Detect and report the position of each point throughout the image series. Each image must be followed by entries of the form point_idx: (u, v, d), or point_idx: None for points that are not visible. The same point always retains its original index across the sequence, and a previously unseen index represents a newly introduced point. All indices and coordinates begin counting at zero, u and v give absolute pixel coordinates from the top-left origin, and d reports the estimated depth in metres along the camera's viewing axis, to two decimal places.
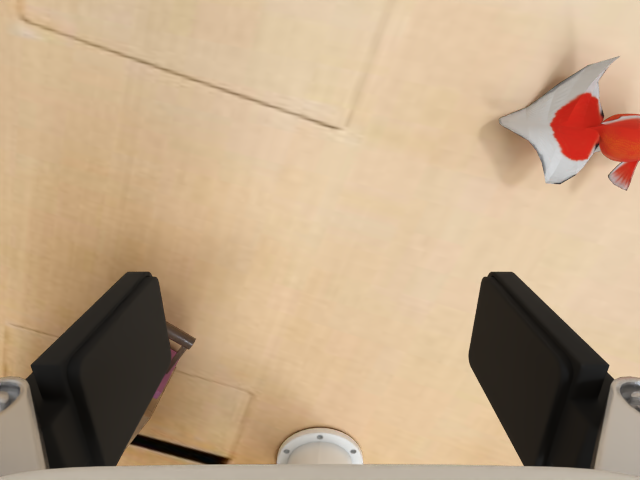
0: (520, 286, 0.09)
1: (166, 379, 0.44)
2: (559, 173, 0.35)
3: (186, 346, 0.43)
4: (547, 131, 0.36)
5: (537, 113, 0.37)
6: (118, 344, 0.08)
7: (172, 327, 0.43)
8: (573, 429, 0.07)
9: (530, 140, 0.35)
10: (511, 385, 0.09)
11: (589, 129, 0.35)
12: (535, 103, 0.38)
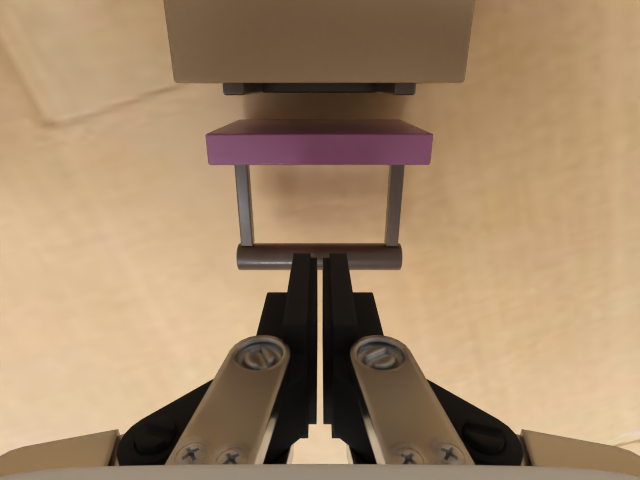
0: (341, 264, 0.11)
1: None
2: None
3: (245, 260, 0.19)
4: None
5: None
6: (316, 313, 0.10)
7: None
8: (333, 381, 0.08)
9: None
10: None
11: None
12: None
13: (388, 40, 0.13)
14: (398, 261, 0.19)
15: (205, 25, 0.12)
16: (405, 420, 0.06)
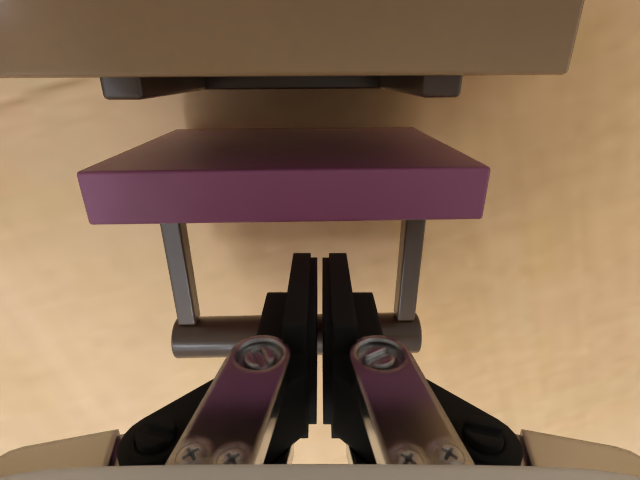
0: (341, 264, 0.11)
1: None
2: None
3: (184, 347, 0.13)
4: None
5: None
6: None
7: None
8: (333, 381, 0.08)
9: None
10: None
11: None
12: None
13: None
14: (416, 343, 0.13)
15: None
16: (405, 420, 0.06)
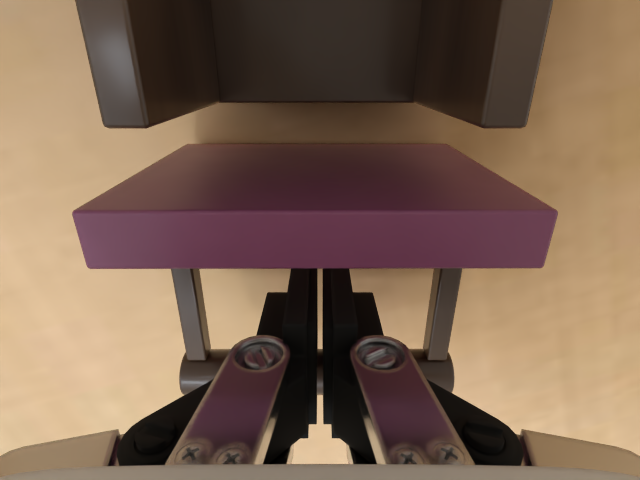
0: None
1: None
2: None
3: (194, 385, 0.12)
4: None
5: None
6: None
7: None
8: (333, 381, 0.08)
9: None
10: None
11: None
12: None
13: None
14: (447, 386, 0.12)
15: None
16: (405, 420, 0.06)
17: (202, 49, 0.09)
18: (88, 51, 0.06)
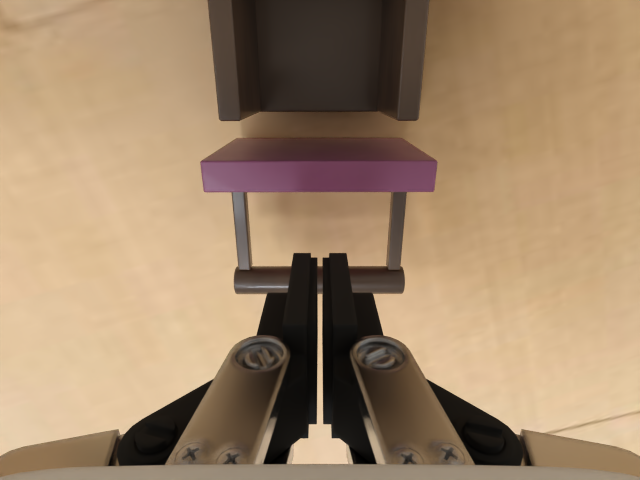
0: (341, 264, 0.11)
1: None
2: None
3: (243, 284, 0.19)
4: None
5: None
6: None
7: None
8: (333, 381, 0.08)
9: None
10: None
11: None
12: None
13: None
14: (400, 285, 0.19)
15: None
16: (405, 420, 0.06)
17: (255, 81, 0.17)
18: None
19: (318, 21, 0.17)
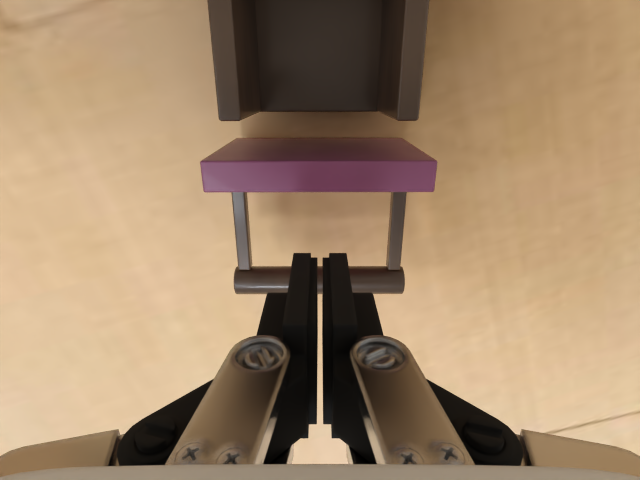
0: (341, 264, 0.11)
1: None
2: None
3: (242, 284, 0.19)
4: None
5: None
6: None
7: None
8: (333, 381, 0.08)
9: None
10: None
11: None
12: None
13: None
14: (400, 285, 0.19)
15: None
16: (405, 420, 0.06)
17: (255, 81, 0.17)
18: None
19: (318, 21, 0.17)
